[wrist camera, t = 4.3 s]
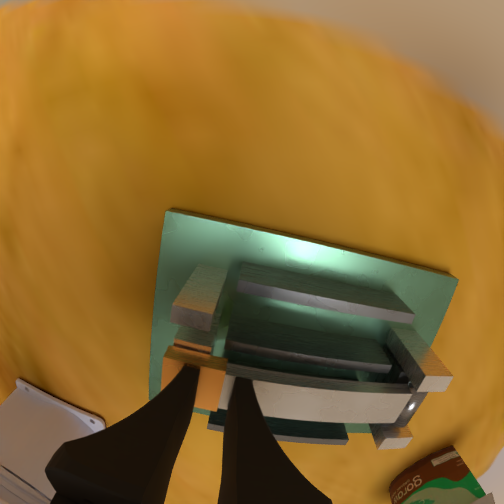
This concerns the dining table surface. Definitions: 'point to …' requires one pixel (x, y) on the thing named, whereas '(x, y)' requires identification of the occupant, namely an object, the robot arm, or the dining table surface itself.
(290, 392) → the grey and orange bar
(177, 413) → the robot arm
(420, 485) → the food container
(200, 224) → the green base metal fixture
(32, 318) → the dining table surface
